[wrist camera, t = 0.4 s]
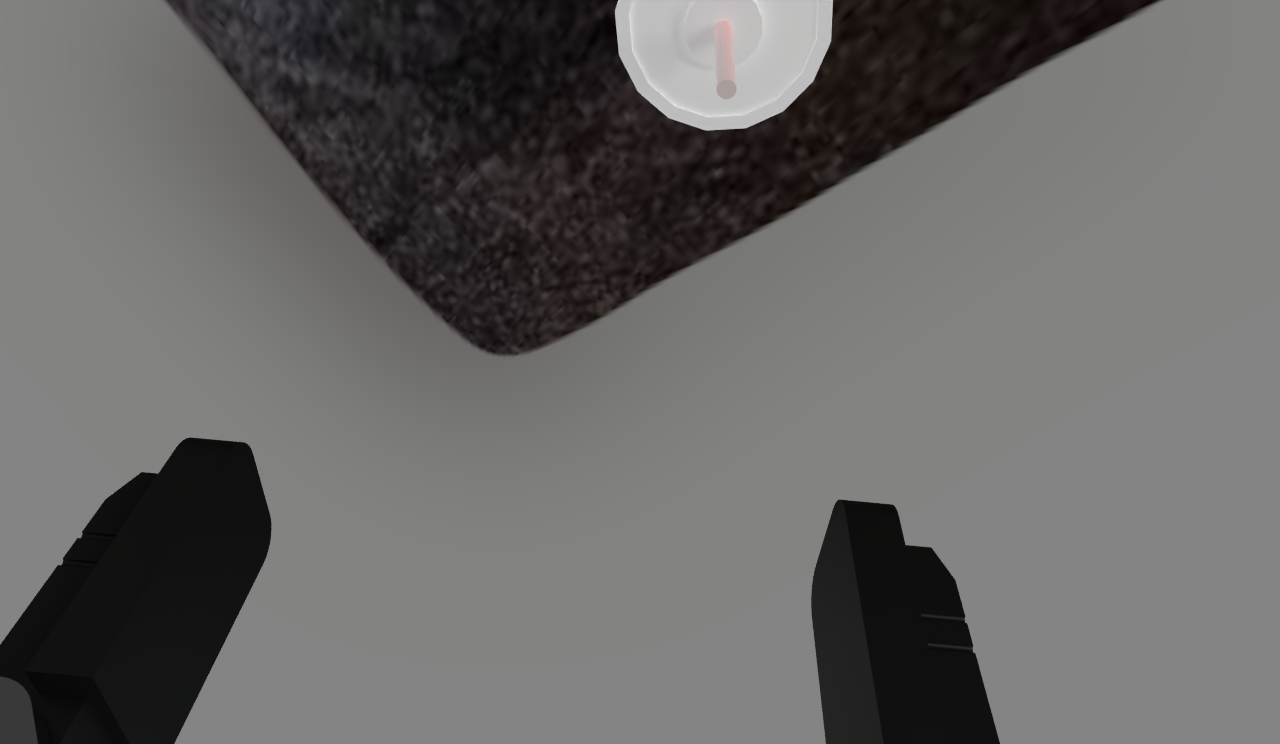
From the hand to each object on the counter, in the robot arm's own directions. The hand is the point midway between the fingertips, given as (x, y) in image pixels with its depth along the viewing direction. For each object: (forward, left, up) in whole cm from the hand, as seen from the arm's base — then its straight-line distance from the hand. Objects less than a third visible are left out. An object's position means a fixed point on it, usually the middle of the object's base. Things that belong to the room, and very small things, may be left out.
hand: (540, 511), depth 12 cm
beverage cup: (-2, +3, -26) cm, 27 cm away
